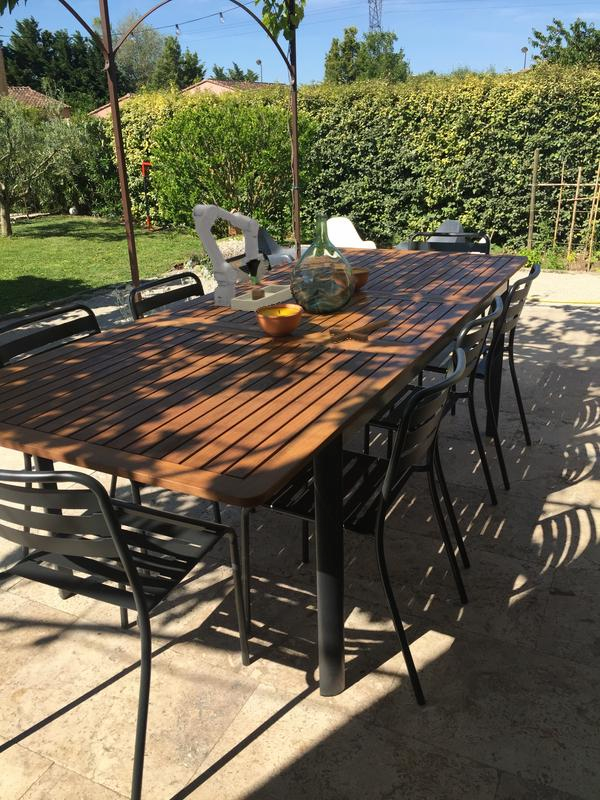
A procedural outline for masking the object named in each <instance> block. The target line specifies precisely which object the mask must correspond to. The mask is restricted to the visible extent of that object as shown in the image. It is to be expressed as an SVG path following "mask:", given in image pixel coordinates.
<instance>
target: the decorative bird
mask: <svg viewBox="0 0 600 800" xmlns="http://www.w3.org/2000/svg"><path fill="white" fill-rule="evenodd" d="M257 260H260V264H259V266H258V270H257V276H256V277H251V274H250V273H249V274H248V273H247V272H244V271H243V270H241V268H240V267H239V266H238V265H237V264H236V263H234V262H233V261H230V263H228V264H229V265H231V267H232V268H233V269H234V270H235V271H236V273H237V280H236V282H237V283H239V285H241V284H242V285H246V284H248V283H249V281H250V282H252V285H253V284H254V286H255V285H256V284H259V283H261V282H262V279H265V276H266V275H265V274H266V273H267V271H268V270H267V269H268V268H269V266H270V263H271V262H270V261H268V260H266V259H265V258H260V259H257ZM236 282H235V283H236ZM245 283H246V284H245Z"/></svg>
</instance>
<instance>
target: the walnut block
mask: <svg viewBox="0 0 600 800" xmlns="http://www.w3.org/2000/svg"><path fill="white" fill-rule="evenodd" d="M251 292H252V300H259V299H261V298H264V297H265V291H264V290H263V289H261V288H255V289H252V290H251Z"/></svg>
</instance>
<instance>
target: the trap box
mask: <svg viewBox="0 0 600 800" xmlns="http://www.w3.org/2000/svg"><path fill="white" fill-rule="evenodd" d="M290 286H291V285H278V284H269V285H267V286H264V287H260V289H263V290H264V291H265V297H264V298H261V299H259V300H252V291H250V292H247V293H244V294H242V295H241V294H240V295H239V296H237V297H236V296H235V297H236V298H233V299H231V306H230V308H231V310H232V311H239V310H242V312H250V311H254V312H253V313H257V312H256V310H257V309H258V308H260V307H263V306H268V305H271V304H275V305H277V304H276V303H278V302H280V303H283V302H284V301H287V300H290V299H292V298H293V297H292V294H291V290H290ZM282 301H283V302H282ZM278 304H279V303H278Z"/></svg>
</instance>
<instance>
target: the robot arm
mask: <svg viewBox="0 0 600 800" xmlns="http://www.w3.org/2000/svg"><path fill="white" fill-rule="evenodd" d="M191 215H192V218H193V220H194V226H195V232H196V234H197V236H198V238H199V240H200V243H202V246H203V247H204V249H205V252H206V253H207V255H208V257H209V260H210V261H211V264H212V265H213V267H212V268H211V271H212V275H213V279H214V280H215V282H216V284H217V286H216V287H215V288H214V289H213V296H214V297H213V298H214V304H213V306H216V307H228V308H229V307H231V299H233V298H236V288H235V287H236V286H235V284H236V281H237V280H238V279H237V273H236V271H235V269H233V268H232V267H233V266H231V265H232V264H231V265H229V264H230V263H228V262H227V261H226V260H225V258H224V256H223V253H222V251H221V249H220V248H219V245H218V244H217V242H216V239H215V237H214V235H213V234H212V231H211V228H212V227H213V225H214V223H215V222H216V220H217V219H218V218H220V219H223V220H226V221H229V222H230V225H231V226H234V227H236V228H237V229H241V231H242V232H243V236H244V247H245V248H244V249H245V256H244V257H242V258H241V264H245V265H246V267H247V269H248V271H249V275H250V274H251V277H256V276H257V270H258V266H259V264H260V260H259V259H260V258H262V259H264V253H259V243H258V234H259V230H260V224H259V222H258V220H257V219H256V218H250V216H249V215H244V214H242V212H240V211H237V212H234V213H233V212H230V211H229V210H226V209H223V208H222V207H220V206H218V205H214V204H200V203H198V204H196V205H195V206H194V207H193V210H192V213H191ZM257 259H258V260H257Z"/></svg>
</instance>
